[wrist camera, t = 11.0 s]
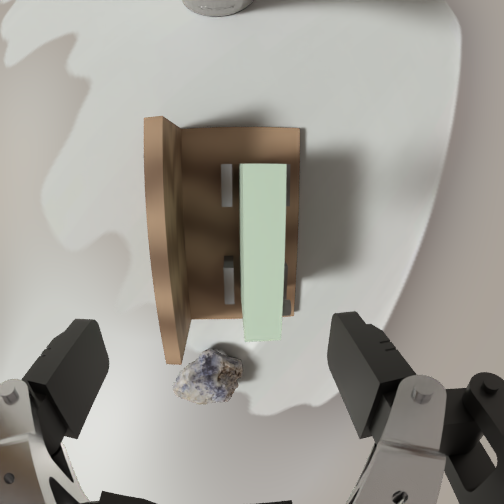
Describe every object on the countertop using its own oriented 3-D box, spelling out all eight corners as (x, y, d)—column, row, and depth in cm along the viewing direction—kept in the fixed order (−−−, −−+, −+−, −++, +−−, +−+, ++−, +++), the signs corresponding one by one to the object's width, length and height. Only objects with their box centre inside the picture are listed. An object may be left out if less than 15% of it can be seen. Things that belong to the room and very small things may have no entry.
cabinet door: (238, 164, 30) (243, 163, 20) (276, 164, 30) (300, 164, 20) (240, 288, 34) (244, 341, 24) (274, 287, 34) (292, 339, 24)
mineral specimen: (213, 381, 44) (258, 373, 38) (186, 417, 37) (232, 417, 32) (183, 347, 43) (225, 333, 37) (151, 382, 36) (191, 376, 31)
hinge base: (169, 131, 29) (144, 117, 20) (297, 129, 30) (325, 116, 21) (180, 315, 36) (166, 364, 26) (292, 312, 37) (310, 359, 27)
